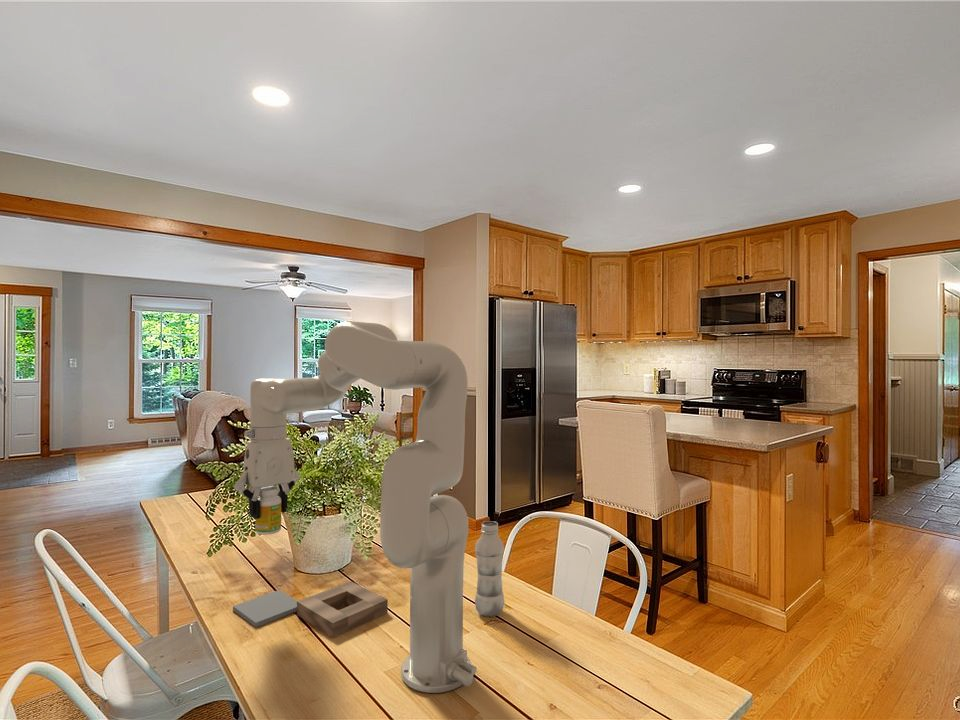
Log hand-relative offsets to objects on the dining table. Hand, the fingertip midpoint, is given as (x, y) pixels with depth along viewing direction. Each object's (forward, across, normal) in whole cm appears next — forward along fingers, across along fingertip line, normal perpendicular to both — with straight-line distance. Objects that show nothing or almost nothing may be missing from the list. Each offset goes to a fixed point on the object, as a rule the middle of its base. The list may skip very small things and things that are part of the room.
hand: (268, 513), depth 118 cm
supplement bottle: (+4, 0, 0) cm, 4 cm away
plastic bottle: (+22, +32, -38) cm, 54 cm away
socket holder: (+22, +10, -14) cm, 28 cm away
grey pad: (+22, 0, 0) cm, 22 cm away
